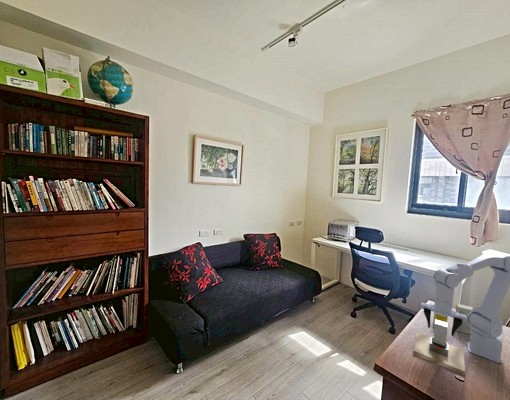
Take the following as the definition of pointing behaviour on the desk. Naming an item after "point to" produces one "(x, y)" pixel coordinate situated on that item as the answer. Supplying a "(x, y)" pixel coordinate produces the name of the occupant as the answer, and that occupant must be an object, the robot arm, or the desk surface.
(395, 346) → the desk surface
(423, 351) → the stand base
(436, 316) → the supplement bottle
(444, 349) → the sleeve
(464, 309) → the skincare box
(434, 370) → the desk surface
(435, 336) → the column
